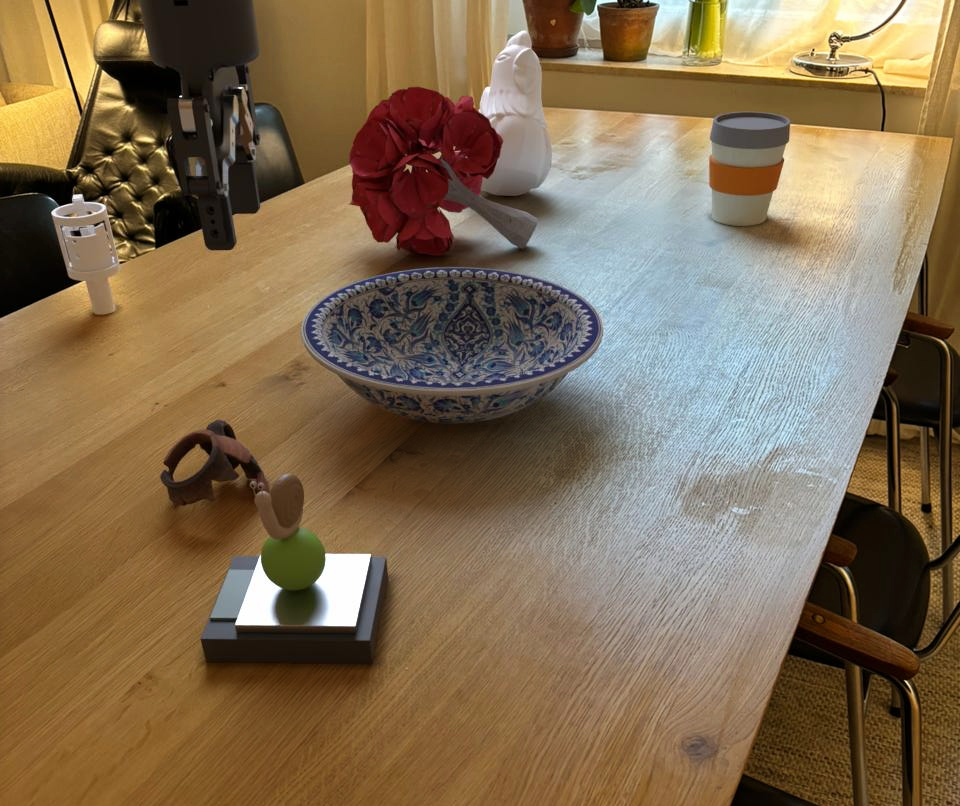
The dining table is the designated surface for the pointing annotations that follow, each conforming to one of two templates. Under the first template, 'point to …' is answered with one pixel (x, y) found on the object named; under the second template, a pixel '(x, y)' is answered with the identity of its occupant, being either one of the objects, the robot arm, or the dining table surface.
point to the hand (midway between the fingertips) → (234, 230)
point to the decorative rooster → (517, 120)
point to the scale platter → (308, 600)
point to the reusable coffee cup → (745, 165)
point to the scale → (290, 647)
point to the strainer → (89, 250)
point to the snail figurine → (288, 536)
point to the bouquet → (449, 181)
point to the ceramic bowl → (452, 340)
